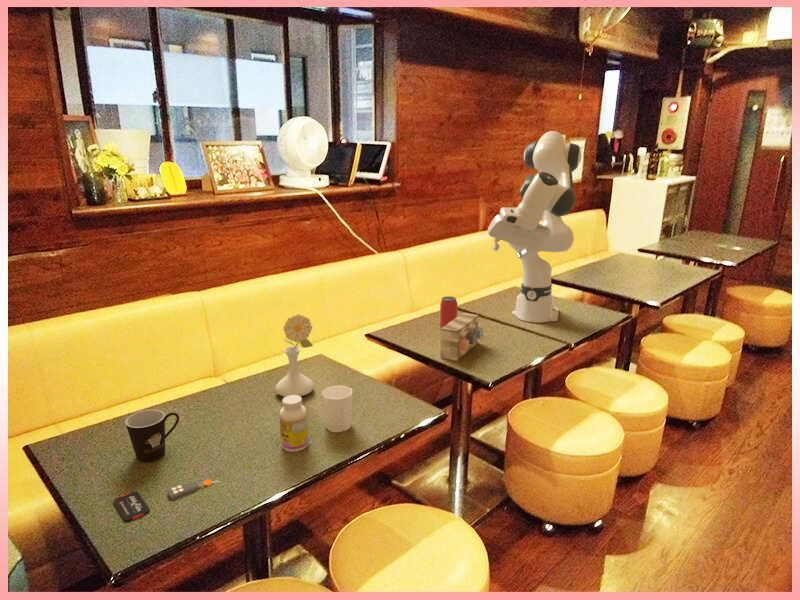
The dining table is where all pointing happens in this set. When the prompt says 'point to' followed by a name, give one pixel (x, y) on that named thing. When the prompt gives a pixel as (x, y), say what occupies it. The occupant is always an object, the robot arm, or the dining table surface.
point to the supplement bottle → (293, 424)
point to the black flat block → (131, 506)
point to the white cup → (337, 408)
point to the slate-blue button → (478, 332)
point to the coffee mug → (148, 434)
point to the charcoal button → (471, 338)
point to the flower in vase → (295, 357)
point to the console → (457, 335)
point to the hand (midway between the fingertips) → (507, 253)
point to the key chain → (187, 489)
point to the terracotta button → (463, 344)
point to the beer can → (447, 310)
